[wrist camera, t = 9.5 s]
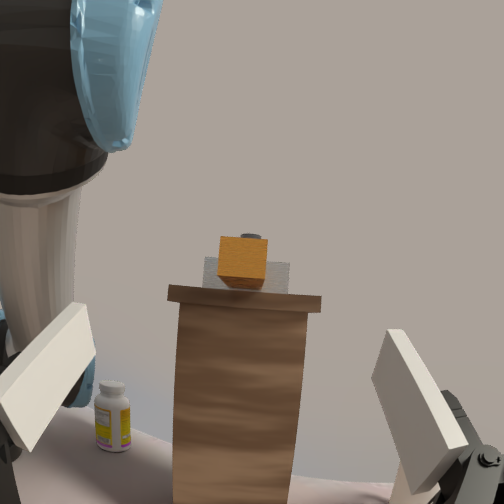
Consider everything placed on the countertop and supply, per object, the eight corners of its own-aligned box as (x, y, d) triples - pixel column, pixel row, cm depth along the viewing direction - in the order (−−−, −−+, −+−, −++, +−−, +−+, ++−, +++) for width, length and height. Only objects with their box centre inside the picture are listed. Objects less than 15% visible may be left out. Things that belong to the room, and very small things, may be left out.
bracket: (304, 285, 20) (308, 181, 21) (177, 275, 20) (190, 173, 21) (279, 299, 40) (282, 244, 41) (214, 294, 40) (219, 239, 41)
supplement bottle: (127, 439, 51) (127, 380, 54) (133, 453, 45) (133, 389, 48) (94, 437, 48) (93, 377, 50) (97, 452, 42) (95, 386, 45)
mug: (371, 499, 34) (385, 442, 36) (420, 493, 33) (435, 437, 35) (390, 543, 22) (412, 479, 24) (449, 530, 21) (473, 466, 23)
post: (288, 551, 23) (321, 296, 29) (163, 539, 23) (168, 284, 29) (279, 495, 37) (299, 301, 42) (185, 487, 37) (195, 293, 43)
